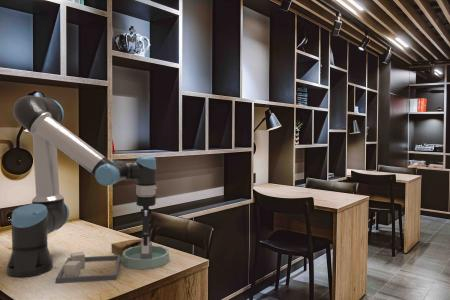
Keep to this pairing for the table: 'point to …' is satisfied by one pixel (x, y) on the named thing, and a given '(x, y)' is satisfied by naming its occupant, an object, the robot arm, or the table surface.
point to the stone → (124, 246)
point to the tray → (91, 277)
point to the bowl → (133, 259)
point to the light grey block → (72, 269)
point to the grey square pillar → (148, 255)
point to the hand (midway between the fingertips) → (145, 247)
